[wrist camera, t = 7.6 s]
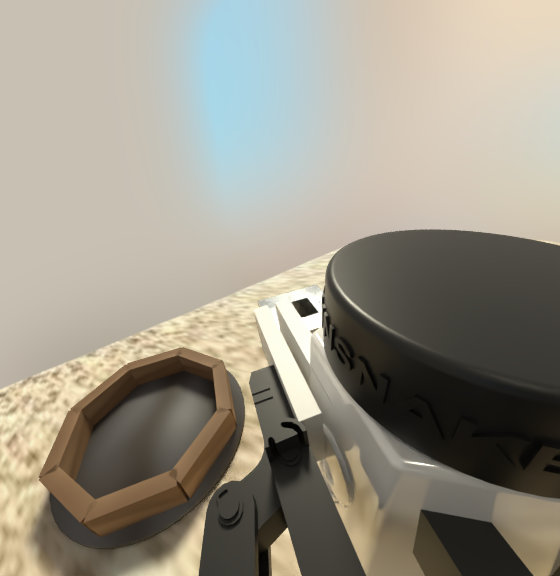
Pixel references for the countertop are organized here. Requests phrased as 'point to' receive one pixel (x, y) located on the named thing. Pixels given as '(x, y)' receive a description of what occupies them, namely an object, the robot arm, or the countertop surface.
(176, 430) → the brown octagonal tray
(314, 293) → the square socket
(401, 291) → the jar
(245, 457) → the countertop surface
